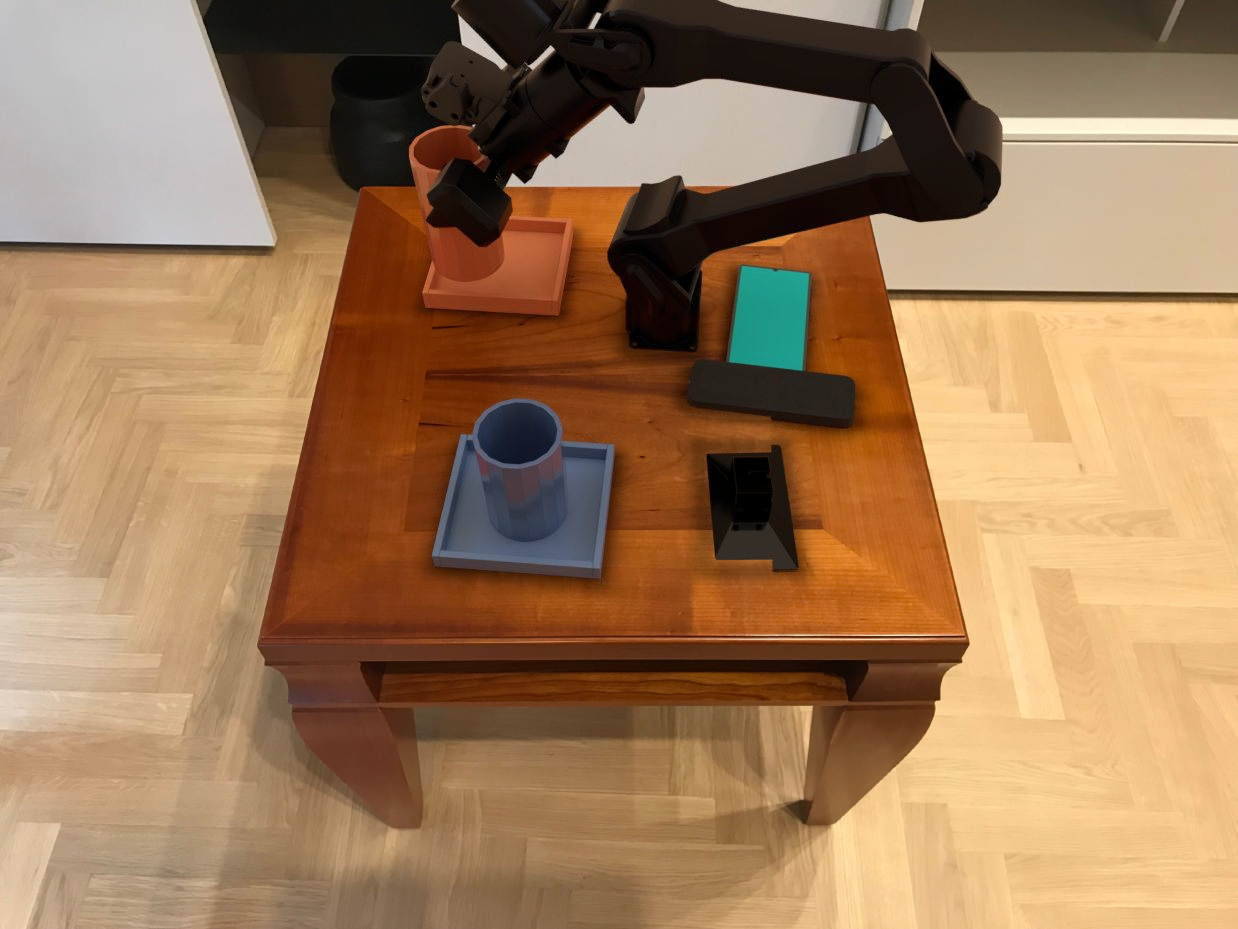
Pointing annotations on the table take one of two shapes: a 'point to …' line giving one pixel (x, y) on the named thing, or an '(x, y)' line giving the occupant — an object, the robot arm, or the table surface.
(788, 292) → the smartphone
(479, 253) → the rust cup
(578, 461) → the blue tray
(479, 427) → the blue cup
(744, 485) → the black stand
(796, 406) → the remote control
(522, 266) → the rust tray
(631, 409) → the table surface
